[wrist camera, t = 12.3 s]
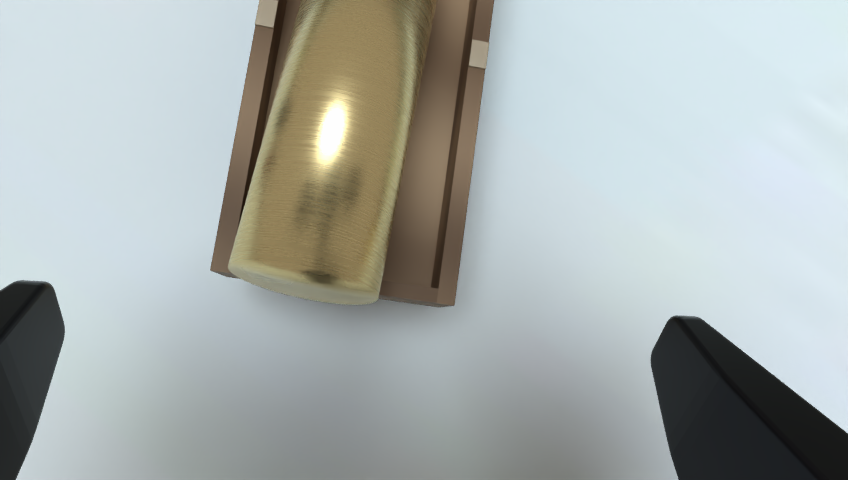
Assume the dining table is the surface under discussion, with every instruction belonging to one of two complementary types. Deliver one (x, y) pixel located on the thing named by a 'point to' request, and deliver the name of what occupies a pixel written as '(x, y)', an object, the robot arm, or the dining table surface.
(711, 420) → the robot arm
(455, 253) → the brown wooden tray
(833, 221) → the dining table surface
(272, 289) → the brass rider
